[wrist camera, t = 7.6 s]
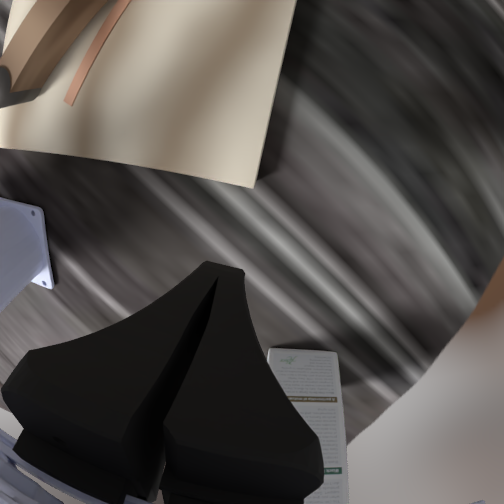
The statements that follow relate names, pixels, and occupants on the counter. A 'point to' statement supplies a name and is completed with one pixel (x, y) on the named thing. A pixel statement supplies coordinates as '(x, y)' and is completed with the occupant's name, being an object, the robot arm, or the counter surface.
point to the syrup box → (317, 412)
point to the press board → (161, 87)
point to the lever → (41, 46)
